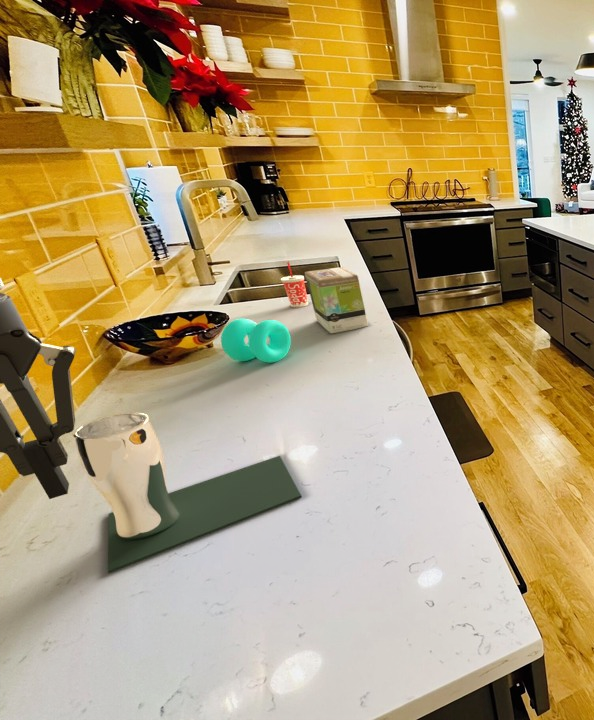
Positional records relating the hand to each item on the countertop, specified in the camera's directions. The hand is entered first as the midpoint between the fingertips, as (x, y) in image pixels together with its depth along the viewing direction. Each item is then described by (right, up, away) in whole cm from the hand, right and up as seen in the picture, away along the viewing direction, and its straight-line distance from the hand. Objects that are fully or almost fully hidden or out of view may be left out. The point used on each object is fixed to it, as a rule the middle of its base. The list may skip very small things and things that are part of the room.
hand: (59, 491), depth 59 cm
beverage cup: (-39, +33, +99) cm, 111 cm away
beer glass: (+4, -6, +7) cm, 10 cm away
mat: (+8, -5, +11) cm, 15 cm away
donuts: (-20, +15, +59) cm, 64 cm away
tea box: (-16, +26, +83) cm, 88 cm away
